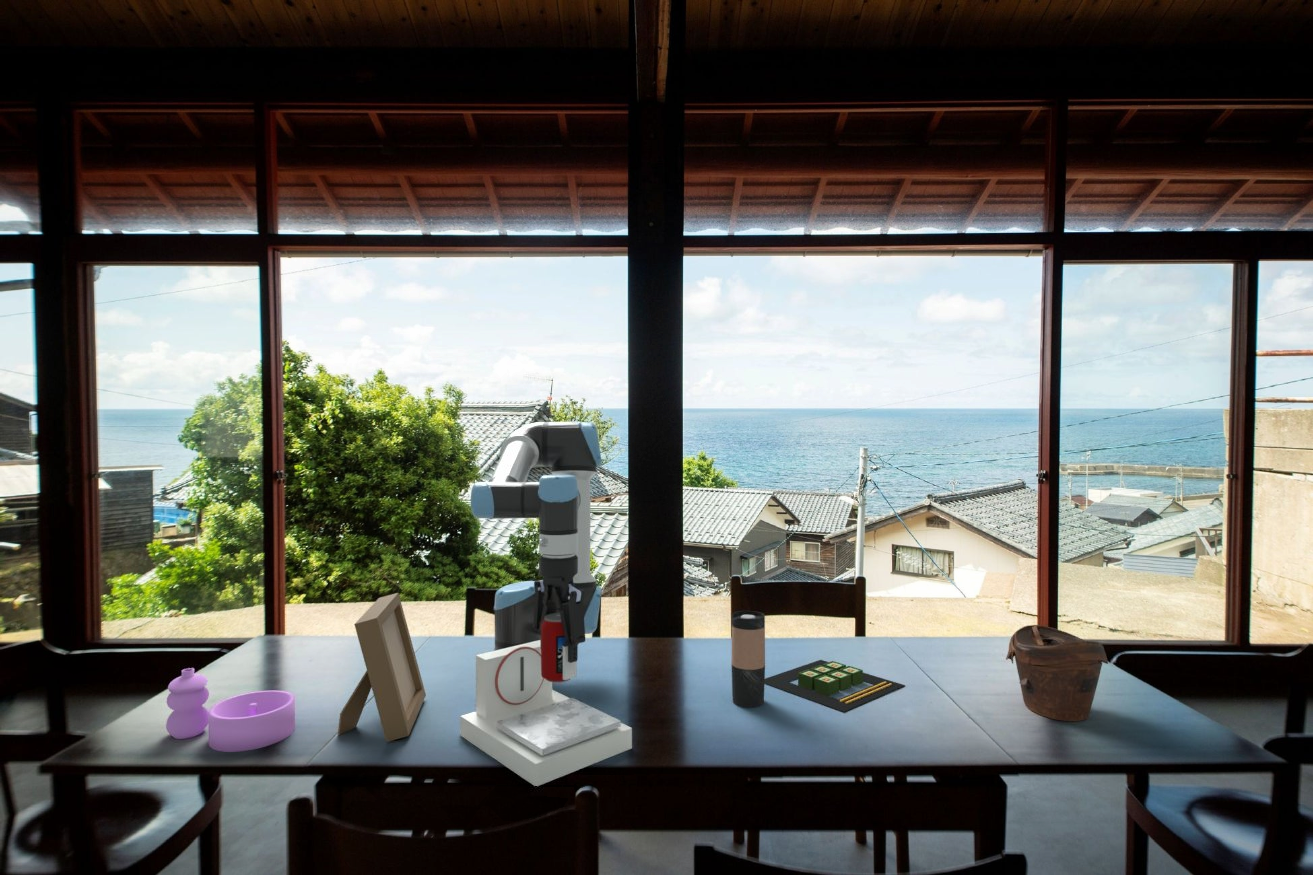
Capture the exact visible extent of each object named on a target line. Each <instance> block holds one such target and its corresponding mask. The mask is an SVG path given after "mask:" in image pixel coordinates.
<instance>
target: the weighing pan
mask: <svg viewBox="0 0 1313 875" xmlns="http://www.w3.org/2000/svg"><path fill="white" fill-rule="evenodd" d="M569 698H570V699H567V700H564V701H560V702H557V703H554V704H551V705H548V706H544V707H541V708H538V709H535V710H532V711H529V712H525V713H522V714H519V715H516V716H513V717H509V718H506V719H503V720H500V721H497V722H496V727H497V728H498V729H499V730H501V731H503V732H504V733H506V734H508V735H509V736H511V737H512V738H514V739H516V740H517V741H519V742H521V743H522V744H524V745H526V746H527V747H529V748H530V749H532V750H534V751H535V752H537V753H539V754H540V755H542V756H543V755H546V754H549V753H551V752H554V751H557V750H559V749H562V748H565V747H568V746H570V745H573V744H576V743H578V742H581V741H584V740H587V739H589V738H592V737H595V736H597V735H600V734H603V733H606V732H608V731H611V730H614V729H616V728H619V727H621V723H622V721H621V720H620V719H619V718H616V717H614V716H612V715H609V714H607V713H605V712H603V711H601V710H599V709H597V708H596V707H595V708H594V707H593V706H591V705H589V704H586V703H585V702H582V701H580V700H578V699H576V698H574V697H569Z"/></svg>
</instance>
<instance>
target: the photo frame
mask: <svg viewBox="0 0 1313 875" xmlns="http://www.w3.org/2000/svg"><path fill="white" fill-rule="evenodd" d="M400 597H401V596H400V594H399V592H396V593H392V594H388V595H385V596H381V597H378V598H377V599H376V600H375V601H374V603H372V605H371V606H370V607H369V608H368V609H367V610H366V611H365V612H364V613H363V614H362V615H361V616H360V618H358V620H357V621H356V622H355V623H354V629H355V632H356V635H357V638H358V644H359V646H360V651H361V653H362V658H363V661H364V665H365V668H366V670H365V673H364V674H363V676H362V678H361V679H360V681H359V682H358V684H357V686H355V689H354V690H353V692H352V694H351V695H350V697H349V698H348V701H347V702H346V703H345V705H344V707H343V708H342V710H341V711H340V713H339V720H338V729H337V735H339V736H340V735H342V734H344V733H347V732H348V731H349V732H350V731H351V730H353V729H355V728H356V727H358V723H359V721H360V717H361V716H362V713H363V710H364V708H365V705H366V702H367V700H368V696H369V694H370V692H371V690H372V694H373V697H374V701H375V704H376V709H377V712H378V716H379V719H380V722H381V727H382V729H383V734H384V737H385V741H386V743H389V742H393V741H396V740H399V739H401V738H405V737H409V736H410V734H411V731H412V730H413V726H414V724H415V721H416V719H417V718H418V714H419V712H420V710H421V707H422V705H423V704H424V701H425V698H426V696H427V694H426V690H425V687H424V686H425V685H424V683H423V678H422V676H421V675H422V674H421V671H420V668H419V664H418V661H417V657H416V654H415V653H416V652H415V650H414V647H413V641H412V640H411V639H412V638H411V634H410V630H409V628H408V623H407V619H406V616H405V612H404V608H403V604H402V602H401V598H400Z"/></svg>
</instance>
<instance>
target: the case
mask: <svg viewBox="0 0 1313 875" xmlns="http://www.w3.org/2000/svg"><path fill="white" fill-rule="evenodd" d="M1014 659H1015V665H1016V670H1017V674H1018V680H1019V684H1020V689H1021V695H1022V700H1023V703H1024V705H1025V707H1026V708H1027V709H1029V710H1030V711H1031V712H1033V713H1035V714H1037V715H1040V716H1043V717H1045V718H1048V719H1053V720H1057V721H1062V722H1063V721H1064V722H1080V721H1084V720H1087V719H1088V718H1089V717H1090V714H1091V709H1092V706H1093V702H1094V699H1095V695H1096V691H1097V687H1098V683H1099V679H1100V675H1101V672H1102V671H1101V670H1102V667H1103V663H1104V664H1107V665H1108V664H1109V661H1108V658H1107V654H1106V651H1105V648H1104V645H1102V644H1101V642H1099V641H1091V640H1085V639H1083V638H1080V637H1079V636H1076V635H1074V634H1072V633H1069V632H1066V631H1063V630H1061V629H1057V628H1054V627H1050V626H1046V625H1040V624H1032V625H1031V624H1030V625H1025V626H1022V627H1020V628H1019V629H1017V630H1016V631H1015V632H1014V633H1013V634H1012V636H1010V640H1009V644H1008V650H1007V654H1006V656H1005V660H1010V661H1011V664H1012V665H1014Z"/></svg>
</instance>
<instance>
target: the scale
mask: <svg viewBox="0 0 1313 875" xmlns="http://www.w3.org/2000/svg"><path fill="white" fill-rule="evenodd" d="M570 698H571V697H568V696H566V695H564V694H562V693H560V692H559V691H556V690H554V689H553V682H549V681H547V680H546V679H544V678H543V677H542V676H541V648H540V640H538V641H534V642H530V643H525V644H521V645H517V646H513V647H508V648H504V649H500V650H496V651H494V650H492V651H488V652H484V653H479V654H475V702H476V703H475V711H472V712H469V713H466V714H462V715H460V717H459V718H460V719H459V720H460V721H459V724H460V725H459V726H460V727H459V729H460V732H459V734H460V737H462V738H463V739H465V740H466V741H468V742H469V743H471V744H472V745H473V746H475V747H477V748H478V749H479V750H480V751H482V752H484V753H485V754H486V755H489V756H490V757H491V758H493V759H495V761H497V762H499V763H500V764H502V765H503V766H504V767H506V768H508V769H509V770H510V771H512V772H513V773H514V774H517V775H518V776H519V777H520V778H522V779H523V780H525V781H526V782H528V783H530V784H531V785H533V786H534V787H535V786H537V787H539V786H541V785H544V784H546V783H549V782H551V781H553V780H556V779H559V778H561V777H564V776H566V775H569V774H572V773H574V772H576V771H579V770H580V769H584V768H587V767H589V766H591V765H595V764H596V763H599V762H601V761H604V760H606V759H608V758H611V757H614V756H617V755H618V754H621V753H625V752H626V751H629V750H631V749H632V748H633V728H632V727H630V726H628V725H626V724H625V723H623V722H621V727H619V728H616V729H614V730H611V731H608V732H606V733H603V734H600V735H597V736H595V737H592V738H589V739H587V740H584V741H581V742H578V743H576V744H573V745H570V746H568V747H565V748H562V749H559V750H557V751H554V752H551V753H549V754H546V755H543V756H542V755H540V754H539V753H537V752H535V751H534V750H532V749H530V748H529V747H527V746H526V745H524V744H522V743H521V742H519V741H517V740H516V739H514V738H512V737H511V736H509V735H508V734H506V733H504V732H503V731H501V730H499V729H498V728H497V727H496V722H497V721H500V720H503V719H506V718H509V717H513V716H516V715H519V714H522V713H525V712H529V711H532V710H535V709H538V708H541V707H544V706H548V705H551V704H554V703H557V702H560V701H564V700H567V699H570Z"/></svg>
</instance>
